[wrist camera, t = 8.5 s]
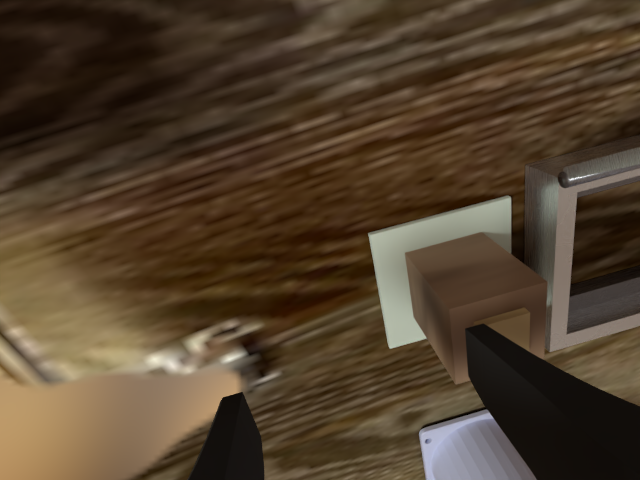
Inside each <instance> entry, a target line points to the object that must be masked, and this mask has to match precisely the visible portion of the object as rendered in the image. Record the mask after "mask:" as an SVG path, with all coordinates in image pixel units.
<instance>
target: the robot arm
mask: <svg viewBox="0 0 640 480" xmlns="http://www.w3.org/2000/svg"><path fill="white" fill-rule="evenodd" d="M465 336H466V351H467V365H468V376H469V378H470V380H471V382H472V384H473V386H474V388H475V389H476V391H477V393H478V395H479V397H480V398H481V400H482V402H483V404H484V405H485V407H486V408H487V409H486V410H482V411H479V412H476V413H472V414H469V415H465V416H462V417H459V418H455V419H452V420H449V421H445V422H442V423H439V424H435V425H432V426H428V427H425V428H423V429H421V430H420V432H419V437H420V444H421V450H422V457H423V463H424V470H425V476H426V480H640V406H637V405H635V404H632V403H630V402H627V401H625V400H623V399H621V398H618V397H616V396H614V395H612V394H609V393H607V392H605V391H603V390H600V389H598V388H596V387H594V386H592V385H590V384H588V383H586V382H584V381H582V380H580V379H578V378H576V377H574V376H572V375H570V374H568V373H566V372H564V371H562V370H561V369H559V368H557V367H555V366H553V365H552V364H550V363H548V362H546V361H545V360H543V359H541V358H539V357H538V356H536V355H534V354H532V353H531V352H529V351H527V350H526V349H524V348H522V347H521V346H519V345H518V344H516V343H514V342H513V341H511V340H509V339H508V338H506V337H505V336H503V335H501V334H500V333H498V332H497V331H495V330H493V329H492V328H490V327H489V326H487V325H485V324H484V323H483V324H479V325H476V326H472V327H469V328H465ZM188 480H264V462H263V452H262V442H261V435H260V433H259V431H258V428H257V426H256V423H255V421H254V419H253V416H252V414H251V411H250V409H249V407H248V404H247V402H246V399H245V397H244V395H243V392H241V393H237V394H234V395H230V396H227V397H223V398H222V400H221V402H220V404H219V407H218V410H217V412H216V415H215V418H214V420H213V423H212V425H211V428H210V430H209V433H208V435H207V438H206V440H205V443H204V445H203V447H202V449H201V452H200V454H199V456H198V458H197V461H196V463H195V465H194V467H193V470H192V472H191V474H190V476H189V478H188Z"/></svg>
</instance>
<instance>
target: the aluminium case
mask: <svg viewBox="0 0 640 480" xmlns="http://www.w3.org/2000/svg"><path fill="white" fill-rule="evenodd" d="M638 147H640V135H636V136H633V137H629V138H625V139H621V140H617V141H614V142H610V143H606V144H602V145H599V146H595V147H591V148H587V149H583V150H580V151H576V152H572V153H568V154H565V155H561V156H557V157H553V158H549V159H546V160H542V161H538V162H534V163H531V164H527V165H525V230H524V264H525V265H526V266H527V267H529V268H530V269H531V270H533V271H534V272H535V273H537V274H538V275H539V276H541V277H542V278H543V279H545V280H546V281H547V303H546V326H545V348H546V349H547V350H548V351H549V352H552V351H555V350H558V349H562V348H565V347H569V346H572V345H576V344H579V343H582V342H586V341H589V340H593V339H596V338H600V337H603V336H606V335H610V334H613V333H617V332H620V331H624V330H627V329H630V328H634V327H637V326H640V266H636V267H633V268H629V269H626V270H622V271H619V272H615V273H611V274H608V275H604V276H601V277H597V278H594V279H590V280H587V281H583V282H580V283H576V284H573V285H570V282H571V269H572V256H573V243H574V229H575V216H576V203H577V198H578V197H581V196H585V195H589V194H592V193H596V192H600V191H604V190H607V189H611V188H615V187H618V186H622V185H626V184H629V183H633V182H637V181H640V168H639V169H635V170H632V171H628V172H624V173H620V174H617V175H613V176H609V177H606V178H602V179H598V180H595V181H591V182H587V183H583V184H580V185H576V186H572V187H569V188H562V187H561V186H560V184H559V182H558V175H559V173H560V172H562V171H563V167H567V166H571V165H574V164H578V163H582V162H586V161H589V160H593V159H597V158H601V157H604V156H608V155H612V154H616V153H619V152H623V151H627V150H630V149H634V148H638Z"/></svg>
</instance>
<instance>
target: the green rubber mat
mask: <svg viewBox="0 0 640 480" xmlns="http://www.w3.org/2000/svg"><path fill="white" fill-rule="evenodd" d="M479 232H483V233H484V234H485V235H487V236H488V237H489V238H491V239H492V240H493V241H494V242H496V243H497V244H498V245H500V246H501V247H502V248H504V249H505V250H506V251H508V252H509V253H510V254H511V197H510V196H504V197H501V198H497V199H493V200H489V201H486V202H482V203H478V204H475V205H471V206H467V207H463V208H460V209H456V210H452V211H449V212H445V213H441V214H437V215H434V216H430V217H426V218H422V219H419V220H415V221H411V222H408V223H404V224H400V225H396V226H393V227H389V228H385V229H382V230H378V231H374V232H370V233H368V235H369V240H370V246H371V251H372V257H373V262H374V268H375V274H376V279H377V285H378V290H379V296H380V302H381V307H382V313H383V318H384V324H385V329H386V335H387V341H388V346H389V348H390V349H391V348H395V347H398V346H402V345H405V344H409V343H412V342H416V341H419V340H423V339H426V336H425V335H424V333H423V331H422V330H421V328H420V327H419V325H418V323H417V322H416V320H415V319H414V317H413V309H412V302H411V295H410V288H409V281H408V273H407V266H406V259H405V253H406V252H410V251H413V250H417V249H421V248H424V247H428V246H432V245H435V244H439V243H443V242H446V241H450V240H453V239H457V238H461V237H464V236H468V235H472V234H475V233H479Z"/></svg>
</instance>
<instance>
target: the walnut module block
mask: <svg viewBox="0 0 640 480" xmlns="http://www.w3.org/2000/svg"><path fill="white" fill-rule="evenodd" d="M405 259H406V266H407V273H408V281H409V288H410V295H411V302H412V309H413V317H414V319H415V320H416V322H417V323H418V325H419V327H420V328H421V330H422V331H423V333H424V335H425V336H426V338H427V339H428V341H429V343H430V344H431V346H432V347H433V349H434V350H435V352H436V354H437V355H438V357H439V358H440V360H441V362H442V363H443V365H444V366H445V368H446V370H447V371H448V373H449V374H450V376H451V378H452V379H453V381H454V382H455V384H459V383H463V382H466V381H470V378H469V376H468V365H467V351H466V336H465V328H469V327H472V326H476V325H479V324H483V323H484V324H485V325H487V326H489V327H490V328H492V329H493V330H495V331H497V332H498V333H500V334H501V335H503V336H505V337H506V338H508V339H509V340H511V341H513V342H514V343H516V344H518V345H519V346H521V347H522V348H524V349H526V350H527V351H529V352H531V353H532V354H534V355H536V356H538V357H539V358H541V359H544V348H545V326H546V303H547V281H546V280H545V279H543V278H542V277H541V276H539V275H538V274H537V273H535V272H534V271H533V270H531V269H530V268H529V267H527V266H526V265H525V264H524V263H522V262H521V261H520V260H518V259H517V258H516V257H514V256H513V255H512V254H510V253H509V252H508V251H506V250H505V249H504V248H502V247H501V246H500V245H498V244H497V243H496V242H494V241H493V240H492V239H491V238H489V237H488V236H487V235H485V234H484V233H483V232H479V233H475V234H472V235H468V236H464V237H461V238H457V239H453V240H450V241H446V242H443V243H439V244H435V245H432V246H428V247H424V248H421V249H417V250H413V251H410V252H406V253H405Z"/></svg>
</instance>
